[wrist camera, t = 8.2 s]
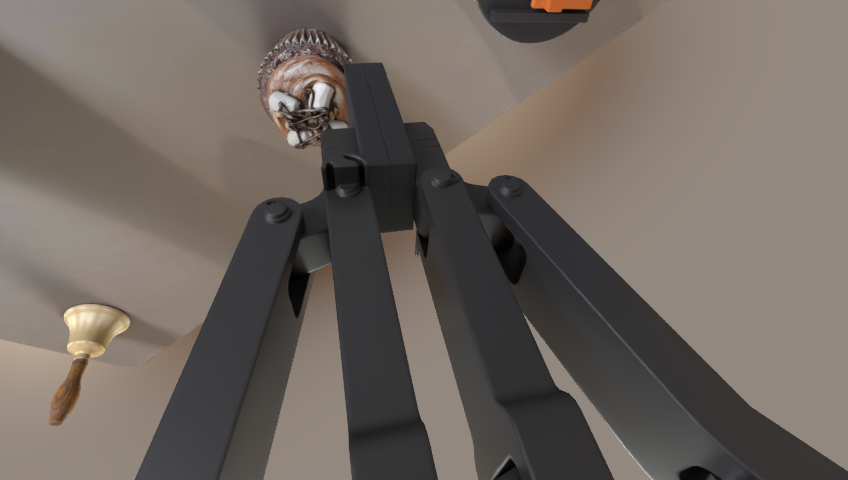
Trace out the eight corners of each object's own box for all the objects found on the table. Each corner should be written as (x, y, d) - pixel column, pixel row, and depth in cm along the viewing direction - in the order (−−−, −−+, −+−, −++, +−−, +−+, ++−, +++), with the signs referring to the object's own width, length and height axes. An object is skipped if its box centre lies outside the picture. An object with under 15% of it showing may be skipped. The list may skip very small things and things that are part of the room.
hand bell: (53, 323, 61) (2, 432, 51) (79, 296, 59) (31, 406, 48) (114, 338, 67) (79, 439, 56) (141, 315, 64) (109, 417, 54)
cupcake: (373, 89, 45) (385, 140, 38) (295, 124, 46) (294, 179, 39) (330, 0, 38) (336, 44, 31) (239, 44, 39) (226, 96, 32)
